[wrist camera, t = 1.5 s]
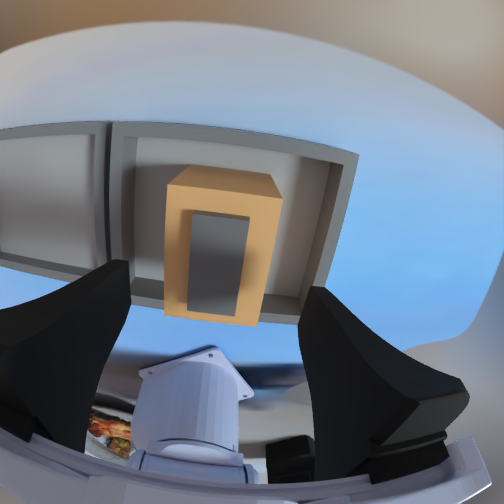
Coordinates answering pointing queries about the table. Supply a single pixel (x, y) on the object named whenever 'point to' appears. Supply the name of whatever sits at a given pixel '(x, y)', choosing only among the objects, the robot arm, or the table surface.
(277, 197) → the module
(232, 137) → the case
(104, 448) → the food plate
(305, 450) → the portable radio
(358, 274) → the table surface
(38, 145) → the shallow grey tray
